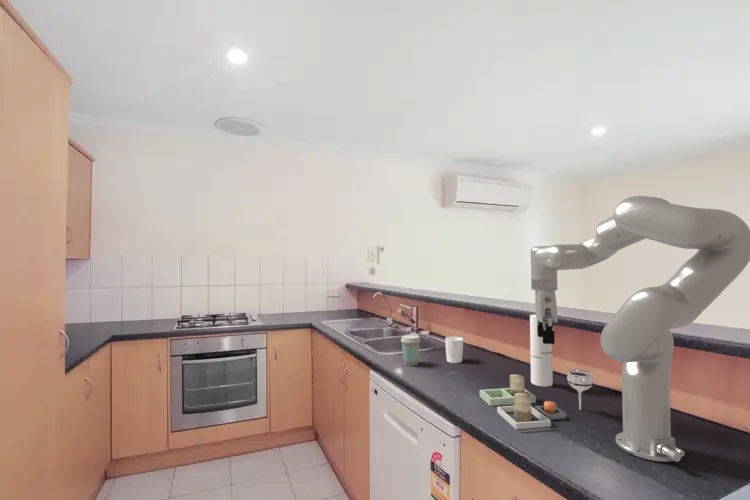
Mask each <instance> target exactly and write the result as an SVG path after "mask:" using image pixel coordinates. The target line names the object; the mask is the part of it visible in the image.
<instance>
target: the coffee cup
mask: <svg viewBox="0 0 750 500" xmlns="http://www.w3.org/2000/svg"><path fill="white" fill-rule="evenodd" d="M400 342H401V348H402V355H403V363H404V366H407V365H409V366H408V367H415V365H416V366H418V364H419V354H420V343H421V339H420V336H419V335H417V334H404V335H402V336H401V339H400Z"/></svg>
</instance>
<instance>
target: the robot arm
mask: <svg viewBox="0 0 750 500" xmlns="http://www.w3.org/2000/svg"><path fill="white" fill-rule="evenodd" d="M595 228H596V229H595V236H593V237H591V238H589V239H587V240H586V241H583V242H581V243H577V244H571V243H569V244H568V243H567V244H566V243H565V244H554V245H538V246H537V245H536V246H534V247H532V248H531V249H530V279H531V281H530V285H531V287H530V288H531V289H530V290H531V291H534V292H535V294H534V299H535V307H534V308H535V315H536V318H537V319H538V324H537V333H538V337H543V343H544V344H552V345H554V344H555V339H556V338H555V326H554V324H557V323H558V306H557V296H556V291H558V289H559V288H558V271H565V270H566V271H567V270H583V269H586V268H589V267H592V266H594V265H596V264H599V263H602V262H603V261H606V260H608V259H610V258H611V257H612V256H614V255H615V254H616V253H617V252H618V251H620V250H622V249H625V248H627V247H629V246H632V245H634V244H637V243H638V242H641V241H644V240H646V239H647V240H651V241H653V242H658V243H662V244H665V245H668V246H672V247H675V248H680V249H685V250H697V251H696V253H695V254H694V255H692V256H691V257H690V258H689V259H687V261H685V262H684V263H683V264H682V265H681V266H680V267H679V268H678V270H676V272H675V273H674V274H673V275H672V276H671V277H670V279H668V280H667V281H666V282H665V283H663V284H661V285H658V286H649V287H646V288H642V289H639V290H637V291H636V292H634V293H633V294H632V295H631V296H629V297H628V299H627V300H625V302H624V303H623V304H622V305H621V306H620V308H619V309H618V310H617V311H616V313H614V315H613V316H612V317H611V318H610V320H609V321H608V322H607V323H606V324H605V326H603V329H602V331H601V332H600V333H601V334H600V340H599V341H600V347H601V349H602V351H603V352H604V354H606V356H607V357H609V358H610V359H611V360H614V361H615V362H618V363H623V364H622V369H621V370H622V372H621V386H622V388H621V390H622V391H621V398H622V402H621V403H622V432H619V433H617V434H616V435H615V443H616V444H617V445H618V446H619V447H620V448H622V449H623V450H624V451H626V452H627V453H628V452H629V454H631V455H632V456H635V457H638V458H641V459H643V460H648V461H652V462H660V463H670V462H676V463H677V462H679V461H681V459H682V457H684V456H685V453H686V452H685V451H684V450H683V449H681V448H679V447H677V446H676V438H675V437H672V433H671V432H672V431H671V429H672V428H671V427H672V423H671V418H672V417H671V366H672V359H673V356H674V355H673V354H674V348H675V347H674V346H675V345H674V344H675V343H674V337H673V333H672V332H671V330H674V329H679V328H683V327H687V326H689V325H691V324H692V323H693V322H695V321H696V320H697V318H699V317H700V315H701V314H702V313H703V312H704V311H705V310H706V309H707V308H708V307H709V306H710V305H711V304H712V303H713V302H714V301H715V300H716V299H717V298H718V297H719V296H721V294H722V293H723V292H724V291H725V290H726V289H727V287H729V285H731V284H732V283H733V282H734V280H736V279H737V278H738V276H739V275H740V274H742V272H744V270H745V268H747V266H748V264H749V263H750V227H749V226H748V224H747V223H746V222H745V221H744V220H743V219H742V218H741V217H740V216H738V215H736V214H735V213H732V212H730V211H727V210H723V209H716V208H700V207H692V206H687V205H680V204H675V203H671V202H670V201H668V200H667V199H664V198H662V197H654V196H646V195H635V196H630V197H627V198H625V199H623V200H622V201H620V202H619V203H618V204H617V205H616V207H615V209H614V211H613V215H612V216H610V217H608V218H606V219H604V220H603V221H600V222H599V223H598V224H597V225H596V227H595Z"/></svg>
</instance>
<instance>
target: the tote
mask: <svg viewBox="0 0 750 500" xmlns="http://www.w3.org/2000/svg"><path fill="white" fill-rule="evenodd" d="M496 410H497V411H496V412H497V413H498V414H499V415H500V416H501V417H502V418H503V420H505V421H506V422H507V423H509V424H510V426H511V427H513V428H514V429H515V432H524V431H537V430H549V429H551V427H552V420H549V419H548V418H546V417H545V416H544V415H542V414H541V413H539V412H538V411H537V410H535V407H534V406H531V415H533V416H534V417H536V418H537V419H538V420H533V421H532V420H531V422H519V421H518V422H517V420H515V419H513V418H512V417H511V416H510V415H509V414H507V413H514V405H502V406H496Z"/></svg>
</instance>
